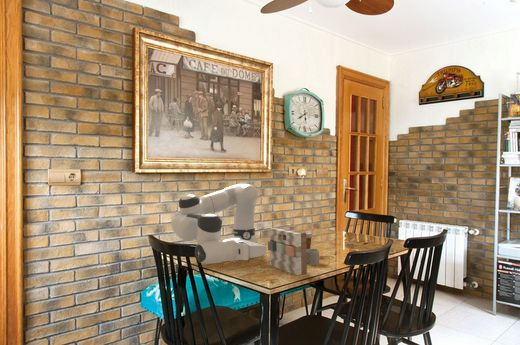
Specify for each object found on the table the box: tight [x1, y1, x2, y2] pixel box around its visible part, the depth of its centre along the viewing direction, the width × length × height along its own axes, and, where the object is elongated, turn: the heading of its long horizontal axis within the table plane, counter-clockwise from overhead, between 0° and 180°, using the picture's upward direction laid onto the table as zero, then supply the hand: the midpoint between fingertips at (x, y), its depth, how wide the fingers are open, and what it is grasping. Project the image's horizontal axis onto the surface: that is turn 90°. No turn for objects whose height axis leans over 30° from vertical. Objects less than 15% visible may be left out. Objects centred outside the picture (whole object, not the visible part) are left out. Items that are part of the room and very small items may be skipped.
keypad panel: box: [269, 227, 308, 276], centre depth 183 cm, size 22×6×18 cm, turn 30°
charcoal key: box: [267, 240, 277, 252], centre depth 188 cm, size 4×3×4 cm
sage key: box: [276, 243, 286, 254], centre depth 182 cm, size 4×3×4 cm
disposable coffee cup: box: [304, 231, 313, 249], centre depth 214 cm, size 10×10×12 cm
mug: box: [307, 248, 320, 266], centre depth 194 cm, size 10×7×7 cm
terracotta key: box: [286, 246, 295, 257], centre depth 175 cm, size 4×3×4 cm
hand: (264, 245), depth 168 cm, fingers closed
